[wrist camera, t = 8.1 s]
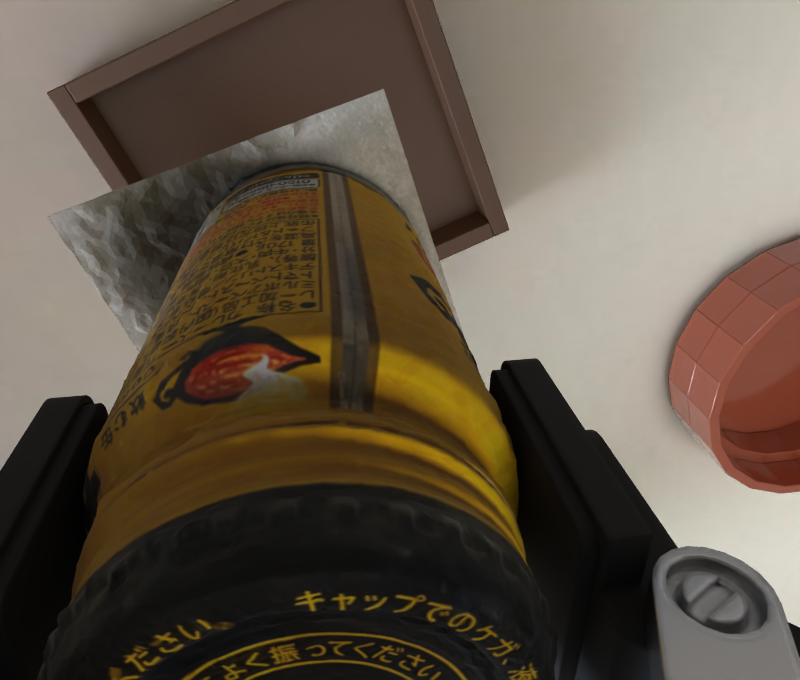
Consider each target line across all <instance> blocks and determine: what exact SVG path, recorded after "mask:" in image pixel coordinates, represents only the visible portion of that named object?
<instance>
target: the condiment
mask: <svg viewBox="0 0 800 680" xmlns="http://www.w3.org/2000/svg"><path fill="white" fill-rule="evenodd" d="M47 218H48V220H49V221H50V222H51V224H52V225H53V226H54V228H55V229H56V231H57V232H58V234H59V235H60V237H61V239H62V240H63V241H64V243H65V244H66V245H67V246H68V247H69V249H70V250H71V251H72V252H73V253H74V255H75V256H76V258H77V260H78V261H79V263H80V265H81V266H82V268H83V269H84V270H85V272H86V273H87V274H88V276H89V278H90V279H91V281H92V282H93V283H94V285H95V287H96V288H97V290H98V292H99V293H100V294H101V296H102V297H103V299H104V300H105V302H106V303H107V305H108V306H109V307H110V309H111V310H112V311H113V313H114V314H115V316H116V317H117V319H118V320H119V322H120V324H121V325H122V327H123V328H124V330H125V332H126V333H127V335H128V336H129V338H130V339H131V341H132V343H133V344H134V346H135V347H136V349H137V350H138V351H139V354H138V356H137V358H136V361H135V363H134V365H133V366H132V368H131V370H130V371H129V374H128V376H127V378H126V380H125V381H124V384H123V387H122V389H121V391H120V393H119V396H118V398H117V400H116V402H115V404H114V406H113V408H112V410H111V412H110V414H109V416H108V418H107V420H106V423H105V424H104V426H103V428H102V430H101V432H100V433H99V435H98V436H97V437H96V439H95V442H94V445H93V448H92V452H91V456H90V460H89V465H88V468H87V471H86V475H85V484H84V489H83V500H84V505H85V509H84V528H85V532H86V535H87V538H86V540H85V542H84V545H83V549H82V552H81V555H80V558H79V561H78V563H77V565H76V573H75V578H74V582H73V586H72V597H71V602H70V604H69V605H68V606H67V607H66V608H65V609H64V610H62V611H61V612H60V613H59V614H58V618H57V623H58V628H56V629H55V630H54V631H53V632H52V633H51V634H50V635H49V637H48V640H47V645H46V647H45V649H44V651H43V658H44V662H43V664H42V666H41V669H40V671H39V674H38V677H37V679H36V680H555V672H554V665H555V662H556V657H557V643H558V636H557V633H556V630H555V627H554V625H553V622H552V620H551V616H550V615H551V610H550V605H549V603H548V601H547V600H546V599H545V597H544V596H543V594H542V593H541V591H540V589H539V588H538V585H537V582H536V580H535V578H534V576H533V573H532V571H531V569H530V568H529V567H528V564H527V562H526V553H525V549H524V544H523V540H522V537H521V533H520V530H519V526H518V523H517V515H518V501H519V488H518V475H517V460H516V457H515V454H514V450H513V445H512V440H511V438H510V436H509V434H508V432H507V429H506V427H505V425H504V424H503V423H502V418H501V412H500V410H499V407H498V405H497V402H496V401H495V399H494V398H493V397H492V395H491V394H490V393H489V391H488V390H487V389H486V387H485V384H484V382H483V380H482V378H481V376H480V373H479V371H478V368H477V364H476V361H475V359H474V356H473V355H472V353H471V351H470V350H469V348H468V345H467V343H466V340H465V338H464V335H463V332H462V329H461V326H460V323H459V320H458V317H457V314H456V310H455V307H454V305H453V302H452V298H451V295H450V292H449V289H448V287H447V283H446V280H445V277H444V274H443V271H442V268H441V265H440V262H439V258H438V255H437V253H436V249H435V246H434V243H433V240H432V237H431V234H430V231H429V228H428V225H427V222H426V218H425V215H424V212H423V209H422V206H421V203H420V200H419V197H418V194H417V191H416V188H415V184H414V181H413V178H412V175H411V172H410V169H409V165H408V161H407V159H406V157H405V154H404V150H403V147H402V144H401V141H400V138H399V134H398V131H397V128H396V125H395V122H394V119H393V116H392V113H391V110H390V107H389V103H388V100H387V97H386V94H385V91H384V89H382V90H379V91H376V92H374V93H371V94H369V95H366V96H363V97H361V98H358V99H355V100H352V101H350V102H347V103H344V104H342V105H339V106H336V107H334V108H331V109H328V110H325V111H323V112H320V113H317V114H315V115H312V116H309V117H307V118H304V119H301V120H299V121H297V122H295V123H292V124H289V125H286V126H283V127H280V128H277V129H275V130H272V131H269V132H267V133H264V134H261V135H258V136H256V137H254V138H251V139H249V140H247V141H244V142H240V143H238V144H235V145H232V146H230V147H228V148H225V149H223V150H220V151H218V152H215V153H212V154H209V155H207V156H204V157H202V158H199V159H197V160H195V161H192V162H190V163H187V164H185V165H182V166H179V167H177V168H175V169H172V170H168V171H165V172H162V173H160V174H157V175H155V176H152V177H149V178H146V179H144V180H141V181H139V182H136V183H133V184H130V185H127V186H124V187H122V188H120V189H117V190H115V191H112V192H110V193H107V194H105V195H102V196H100V197H98V198H95V199H93V200H90V201H88V202H85V203H82V204H79V205H77V206H74V207H71V208H68V209H66V210H63V211H60V212H58V213H55V214H53V215H50V216H47Z"/></svg>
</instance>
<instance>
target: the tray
mask: <svg viewBox="0 0 800 680" xmlns="http://www.w3.org/2000/svg"><path fill="white" fill-rule="evenodd" d="M382 89H384V91H385V94H386V97H387V100H388V103H389V107H390V110H391V113H392V116H393V119H394V122H395V125H396V128H397V131H398V134H399V138H400V141H401V144H402V147H403V150H404V154H405V157H406V159H407V161H408V165H409V169H410V172H411V175H412V178H413V181H414V184H415V188H416V191H417V194H418V197H419V200H420V203H421V206H422V209H423V212H424V215H425V218H426V222H427V225H428V228H429V231H430V234H431V237H432V240H433V243H434V246H435V249H436V253H437V255H438V258H439V261H440V260H442V259H444V258H447V257H449V256H451V255H453V254H456V253H458V252H460V251H462V250H465V249H467V248H469V247H472V246H474V245H476V244H478V243H481V242H483V241H485V240H487V239H490V238H492V237H494V236H497V235H499V234H501V233H503V232H506V231H508V230H509V228H508V225H507V222H506V219H505V216H504V213H503V210H502V207H501V204H500V201H499V198H498V195H497V192H496V189H495V186H494V183H493V180H492V177H491V174H490V171H489V168H488V165H487V162H486V159H485V156H484V153H483V150H482V147H481V144H480V141H479V138H478V135H477V132H476V129H475V126H474V123H473V120H472V117H471V114H470V111H469V108H468V105H467V102H466V99H465V96H464V93H463V90H462V87H461V84H460V81H459V78H458V75H457V72H456V69H455V66H454V63H453V60H452V57H451V54H450V51H449V49H448V46H447V43H446V40H445V37H444V34H443V31H442V28H441V25H440V22H439V19H438V16H437V13H436V10H435V7H434V4H433V1H432V0H236V1H234V2H232V3H230V4H228V5H226V6H224V7H222V8H220V9H218V10H216V11H213V12H211V13H209V14H207V15H205V16H203V17H201V18H199V19H197V20H195V21H193V22H191V23H189V24H187V25H185V26H183V27H181V28H179V29H177V30H174V31H172V32H170V33H168V34H166V35H164V36H162V37H160V38H158V39H156V40H154V41H152V42H150V43H148V44H146V45H144V46H142V47H140V48H137V49H135V50H133V51H131V52H129V53H127V54H125V55H123V56H121V57H119V58H117V59H115V60H113V61H111V62H109V63H107V64H105V65H103V66H101V67H98V68H96V69H94V70H92V71H90V72H88V73H86V74H84V75H82V76H80V77H78V78H76V79H74V80H72V81H70V82H68V83H66V84H64V85H61V86H59V87H57V88H55V89H53V90H51V91H49V92H47V95H48V96H49V98H50V99H51V101H52V102H53V104H54V105H55V107H56V108H57V110H58V111H59V113H60V114H61V115H62V117H63V118H64V120H65V121H66V123H67V124H68V126H69V127H70V129H71V130H72V132H73V133H74V135H75V136H76V138H77V139H78V141H79V142H80V144H81V145H82V147H83V148H84V150H85V151H86V153H87V154H88V156H89V157H90V159H91V160H92V162H93V163H94V165H95V166H96V168H97V169H98V171H99V172H100V173H101V175H102V176H103V178H104V179H105V181H106V182H107V184H108V185H109V187H110V188H111V190H112V191H115V190H117V189H120V188H122V187H124V186H127V185H130V184H133V183H136V182H139V181H141V180H144V179H146V178H149V177H152V176H155V175H157V174H160V173H162V172H165V171H168V170H172V169H175V168H177V167H179V166H182V165H185V164H187V163H190V162H192V161H195V160H197V159H199V158H202V157H204V156H207V155H209V154H212V153H215V152H218V151H220V150H223V149H225V148H228V147H230V146H232V145H235V144H238V143H240V142H244V141H247V140H249V139H251V138H254V137H256V136H258V135H261V134H264V133H267V132H269V131H272V130H275V129H277V128H280V127H283V126H286V125H289V124H292V123H295V122H297V121H299V120H301V119H304V118H307V117H309V116H312V115H315V114H317V113H320V112H323V111H325V110H328V109H331V108H334V107H336V106H339V105H342V104H344V103H347V102H350V101H352V100H355V99H358V98H361V97H363V96H366V95H369V94H371V93H374V92H376V91H379V90H382Z"/></svg>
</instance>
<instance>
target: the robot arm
mask: <svg viewBox="0 0 800 680" xmlns="http://www.w3.org/2000/svg"><path fill="white" fill-rule="evenodd" d="M489 393H490V394H491V395H492V397H493V398H494V399H495V401H496V402H497V405H498V407H499V410H500V412H501V418H502V423H503V424H504V425H505V427H506V429H507V432H508V434H509V436H510V438H511V440H512V445H513V450H514V454H515V457H516V460H517V475H518V488H519V501H518V515H517V523H518V526H519V530H520V533H521V537H522V540H523V544H524V549H525V553H526V562H527V564H528V567H529V568H530V569H531V571H532V573H533V576H534V578H535V580H536V582H537V585H538V588H539V589H540V591H541V593H542V594H543V596H544V597H545V599H546V600H547V601H548V603H549V605H550V610H551V615H550V616H551V620H552V622H553V625H554V627H555V630H556V633H557V636H558V643H557V657H556V662H555V665H554V672H555V680H800V628H799V627H797V626H795V625H793V624H791V623H789V622H787V619H786V616H785V613H784V610H783V607H782V604H781V602H780V600H779V598H778V597H777V595H776V593H775V591H774V589H773V588H772V587H771V585H770V584H769V583H768V582H767V581H766V580H765V579H764V578H763V577H762V576H761V574H759V573H758V572H757V571H755V570H754V569H753V568H751V567H750V566H748V565H747V564H746V563H744V562H743V561H741V560H739V559H737V558H735V557H733V556H731V555H728V554H726V553H724V552H721V551H717V550H713V549H710V548H706V547H692V546H686V547H681V548H678V547H677V546H676V545H675V543H674V542H673V540H672V539H671V537H670V536H669V534H668V533H667V531H666V530H665V529H664V527H663V526H662V524H661V523H660V521H659V520H658V518H657V517H656V515H655V514H654V513H653V511H652V510H651V508H650V507H649V505H648V504H647V502H646V501H645V499H644V498H643V496H642V495H641V494H640V492H639V491H638V489H637V488H636V486H635V485H634V483H633V482H632V480H631V479H630V478H629V476H628V475H627V473H626V472H625V470H624V469H623V467H622V466H621V464H620V463H619V462H618V460H617V459H616V457H615V456H614V454H613V453H612V451H611V450H610V448H609V447H608V446H607V444H606V443H605V441H604V440H603V438H602V437H601V436H600V435H599V434H598V433H597V432H596V431H594V430H585V429H584V428H583V426H582V424H581V423H580V421H579V420H578V418H577V417H576V415H575V414H574V412H573V411H572V409H571V408H570V406H569V405H568V403H567V402H566V400H565V399H564V397H563V396H562V394H561V393H560V391H559V390H558V388H557V387H556V385H555V384H554V382H553V381H552V379H551V378H550V376H549V374H548V373H547V371H546V370H545V368H544V367H543V365H542V364H541V362H540V361H539V360H538V359H535V358H534V359H522V360H510V361H504V362H503V363H502V366H501V370H493V371H492V373H491V378H490V390H489ZM107 418H108V413H107V410H106V407H105V406H104V405H103V404H102V403H98V404H94V402H93V400H92V399H91V398H90V397H89V396H87V395H84V396H72V397H60V398H50V399H47V400H46V401H45V402H44V403H43V405H42V406H41V408H40V409H39V411H38V413H37V414H36V416H35V417H34V419H33V420H32V422H31V424H30V425H29V427H28V428H27V430H26V431H25V433H24V435H23V436H22V438H21V439H20V441H19V442H18V444H17V446H16V447H15V449H14V450H13V452H12V453H11V455H10V457H9V458H8V460H7V461H6V463H5V464H4V466H3V468H2V469H1V471H0V680H36V679H37V677H38V674H39V671H40V669H41V666H42V664H43V662H44V658H43V651H44V649H45V647H46V645H47V640H48V637H49V635H50V634H51V633H52V632H53V631H54V630H55V629H56V628H58V623H57V618H58V614H59V613H60V612H61V611H62V610H64V609H65V608H66V607H67V606H68V605H69V604H70V602H71V597H72V586H73V582H74V578H75V573H76V565H77V563H78V561H79V558H80V555H81V552H82V549H83V545H84V542H85V540H86V538H87V535H86V532H85V528H84V509H85V505H84V500H83V489H84V484H85V475H86V471H87V468H88V465H89V460H90V456H91V452H92V448H93V445H94V442H95V439H96V437H97V436H98V435H99V433H100V432H101V430H102V428H103V426H104V424H105V423H106V420H107Z"/></svg>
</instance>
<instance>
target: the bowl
mask: <svg viewBox="0 0 800 680" xmlns="http://www.w3.org/2000/svg"><path fill="white" fill-rule="evenodd" d="M669 385H670V393H671V401H672V406H673V409H674V411H675V412H676V414H677V415H678V417H679V419H680V420H681V422H682V423H683V425H684V427H685V428H686V429H687V431H688V432H689V433H690V434H691V435H692V436H693V437H694V438H695V439H696V441H697V442H698V443H699V444H700V445H701V446H702V447H703V448H704V449H705V451H706V452H707V453H708V454H709V455H710V456H711V457H712V458H713V460H714V461H715V462H716V463H717V464H718V465H719V466H720V467H721V468H722V470H723V471H724V472H725V473H726V474H728V475H729V476H731V477H732V478H734V479H736V480H737V481H739V482H741V483H742V484H744V485H745V486H747V487H749V488H752V489H757V490H763V491H769V492H775V493H791V492H799V491H800V239H797V240H794V241H791V242H788V243H786V244H783V245H780V246H777V247H775V248H772V249H769V250H766V251H765V252H763V253H761V254H760V255H758V256H757V257H755V258H754V259H752V260H751V261H749V262H748V263H746V264H745V265H743V266H742V267H740V268H739V269H737V270H736V271H734V272H733V273H731V274H730V275H728V276H727V277H725V279H724V280H723V281H722V282H721V283H720V284H719V285H718V286H717V287H716V288H715V289H714V290H713V291H712V292H711V293H710V294H709V295H708V296H707V298H706V299H705V300H704V301H703V302H702V303H701V304H700V305H699V306H698V307H697V309H696V310H695V312H694V313H693V315H692V317H691V319H690V321H689V322H688V324H687V326H686V328H685V329H684V331H683V333H682V335H681V336H680V338H679V340H678V342H677V344H676V347H675V352H674V356H673V360H672V364H671V368H670V373H669Z"/></svg>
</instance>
